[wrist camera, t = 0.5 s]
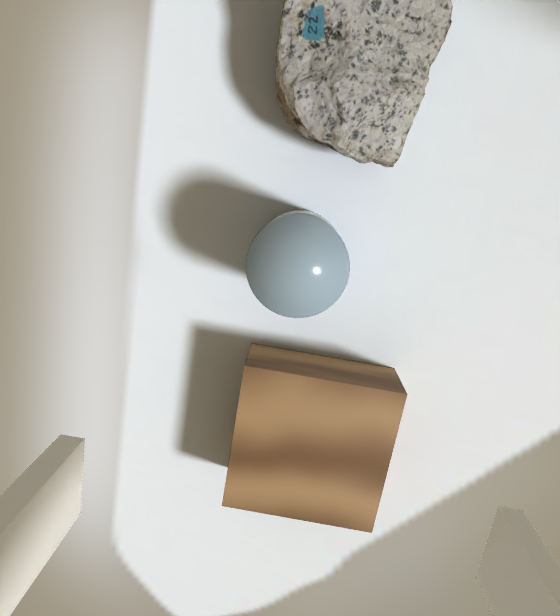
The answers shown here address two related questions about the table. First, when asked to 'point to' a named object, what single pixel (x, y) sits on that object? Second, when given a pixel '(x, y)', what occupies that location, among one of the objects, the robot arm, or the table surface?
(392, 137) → the rock
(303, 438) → the walnut block
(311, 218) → the grey rounded cylinder
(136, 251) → the table surface
